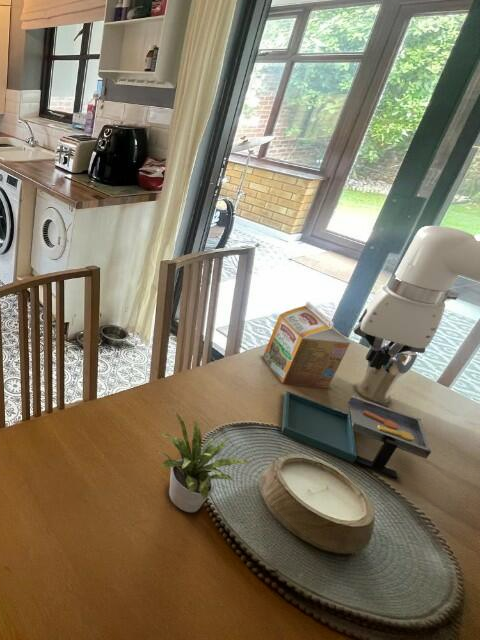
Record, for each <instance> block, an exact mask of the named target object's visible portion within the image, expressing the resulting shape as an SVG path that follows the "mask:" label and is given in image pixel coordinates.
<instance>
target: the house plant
mask: <svg viewBox="0 0 480 640" xmlns="http://www.w3.org/2000/svg"><path fill="white" fill-rule="evenodd" d="M171 409H172V411H173V413H174V415H175V416H176V418H177V420H178V421H179V424H180V427H181V432H182V436H183V439H182V438H180V437H172V436H171V435H170V434H167V433H164V432H161V433H156V434H157V435H159V436H162V437H165V438H167V439H170V440H171V442H172V444H173V445H174V446H175V448H176V449H177V450H178V452H179V454H180V457H181V459H178V460H175V459H172V458H171V457H170V456H169V455H168V454H167V453H165V452H162V451H159V450H157V451H156V450H155V452H156V453H158V454H160V455H162V456H164V457H166V458H167V459H165V461H163V463H162V464H161V465H160V467H159V468H162V467H163V468H170V479H169V490H168V494H169V498H170V500H171V502H172V503H173V504H174V505H175V507H177V508H178V509H180V510H181V511H184V512H186V513H196V512H198V511H199V510H200V508H201V507H202V506H203V505H204V503H205V502H206V501H207V499H208V498H209V497H210V495H212V493H213V491H214V490H215V481H214V480H215V479H216V480H228V481H231V482H235V481H234V479H233V477H232V476H231V475H229V474H226V473H224V472H223V471H222V470H220V469H218V468H219V467H226V466H232V465H235V464H251V462H250V461H248V460H245V459H242V458H237V457H231V458H230V457H229V458H220V459H217V460H215V461H214V462H211V463H209V462H210V461H212V459H213V458H214V457H215V456H216V455H218V454H219V453H220V452H221V451H222V450H223V448H224V447H225V444H226V443H227V440H228V438H225V439H224V440H223V441H222V442H221V443H219V444H218V445H217V446H215V445H212V444H211V445H208V444H209V443H210V442H212V441H214V440H215V439H216V437H213V438H211V439H209V440H208V441H207V442H206V443H205V444H204V446H203V447H202V444H203V438H202V432H201V428H200V427H199V424H198V423H197V422H196V421H193V435H192V441H191V444H190V441H189V436H188V431H187V428H186V425H185V422H184V420H183V419H182V417H181V416H180V415H179V413H177V411H176V410H175V409H173V408H171ZM203 450H204V451H203ZM202 451H203V453H202ZM208 463H209V464H208ZM211 473H214V474H211Z"/></svg>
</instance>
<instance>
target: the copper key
mask: <svg viewBox="0 0 480 640" xmlns="http://www.w3.org/2000/svg"><path fill="white" fill-rule="evenodd" d="M363 414H365V415H368V416H370V417H372V418H374V419H376V420H378V421H380V422H382V423H384V424H385V425H386V426H388V427H390V428H392V429H398V427H399V426H398V425H397V424H396V423H395V422H393V421H391V420H386V419H384V418H381V417H379V416H377V415H375V414H373V413H371V412H369V411H366V410H365V411H364V413H363Z"/></svg>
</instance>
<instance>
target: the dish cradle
mask: <svg viewBox="0 0 480 640" xmlns="http://www.w3.org/2000/svg"><path fill="white" fill-rule="evenodd" d="M377 404H378V405H381V406H384V407H386V408H389V405H387V404H386V403H379V402H377ZM389 409H390V408H389ZM382 443H383V442H382ZM397 447H398V444H397V442H394V441H391V440H389V439H386V440H385V442H384V443H383V444H382V445H381V447H380V448H379V450H378V451H377V453H376V455H375V456H374V458H373V460H370V459H367V458H365V457H362V456H360V455H357V457H356V459H355V463H356V465H358V466H361V467H362V468H365V469H368V470H371V471H372V472H375V473H377V474H380V475H382V476H385V477H387V478H389V479H392V480H395V481H397V480H398V478H399V476H398V472H397V470H395V469H392V468H390V467H387V466H386V465H387V464H388V462H389V460H390V459H391V457H392V456H393V454H394V453H395V451H396V450H397V449H398V448H397Z"/></svg>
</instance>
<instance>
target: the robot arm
mask: <svg viewBox="0 0 480 640" xmlns="http://www.w3.org/2000/svg"><path fill="white" fill-rule="evenodd" d="M459 276H462V277H465V278H469V279H471V280H473V281H476V282H479V283H480V233H478V234H476V235H474V234H471V233H469V232H467V231H464V230H461V229H457V228H453V227H448V226H441V225H427V226H424V227H421V228H420V229H418V231H417V232H416V233H415V235H414V237H413V239H412V240H411V243H410V244H409V246H408V248H407V250H406V252H405V254H404V256H403V257H402V259H401V261H400V264H399V265H398V267H397V269H396V271H395V273H394V274H393V276H392V277H391V279H390V282H389V284H388V285H382V286H381V287H379V289H377V291H376V292H375V293H374V294H373V296H372V297H371V298H370V299H369V301H368V303H367V304H366V306H365V307H364V308H363V310H362V312H361V314H360V315H359V318H358V324H356V325H355V327H354V328H353V333H354V335H357V336H359V337H360V338H362V339H365V340H366V341H367V342H368V344H369V345H370V346H371V347H370V348H369V350H368V352H367V353H366V356H365V360H366V361H367V363H369V367H372V368H373V367H375V368H376V369H378V370H380V368H381V367H382V365H384V366H386V365H387V363H388V361H389V359H390V358H391V356H394V355H396V354H397V353H401V352H406V351H410V352H417V353H419V354H424V353H426V348H427V347H428V346H429V345H430V343H432V340H433V339H434V337H435V336H436V333H437V331H438V328H439V327H440V324H441V320H442V318H443V315H444V312H445V310H446V309H445V308H446V303H445V301H446V300H454V301H456V300H457V299H458V298H459V292H454V291H453V290H451V288H452V287H453V285H454V284H455V282H456V280H457V279H458V277H459ZM384 339H385V340H388V341H390V342H389V343H388V344H387V345H386V346H384V347H381V346H382V343H383V340H384Z"/></svg>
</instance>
